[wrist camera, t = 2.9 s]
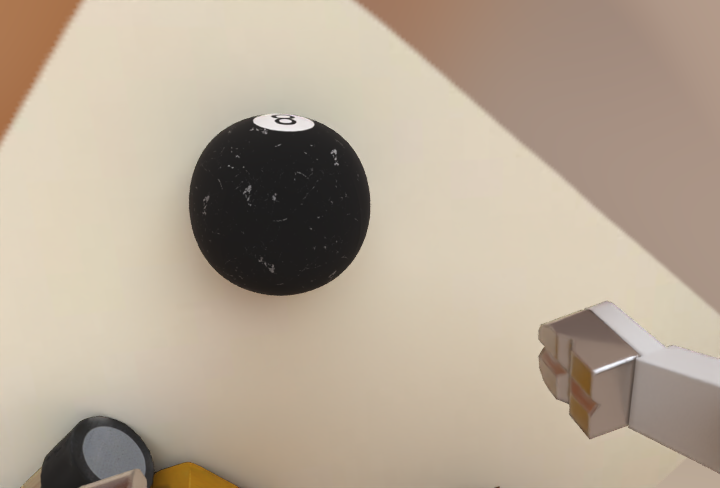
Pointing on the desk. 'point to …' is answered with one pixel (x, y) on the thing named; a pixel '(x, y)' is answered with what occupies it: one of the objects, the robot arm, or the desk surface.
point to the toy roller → (112, 460)
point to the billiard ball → (279, 204)
